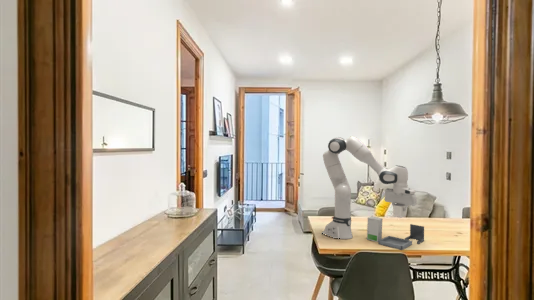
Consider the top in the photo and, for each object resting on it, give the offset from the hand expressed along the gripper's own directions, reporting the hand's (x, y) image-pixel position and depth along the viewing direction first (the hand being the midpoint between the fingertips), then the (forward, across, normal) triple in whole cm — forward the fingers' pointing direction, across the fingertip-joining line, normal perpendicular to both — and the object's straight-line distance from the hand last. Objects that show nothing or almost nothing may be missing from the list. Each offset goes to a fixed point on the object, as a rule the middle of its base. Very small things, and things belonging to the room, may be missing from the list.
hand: (399, 210), depth 202 cm
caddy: (+4, 0, 0) cm, 4 cm away
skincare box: (+23, -15, -5) cm, 28 cm away
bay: (+22, +5, +12) cm, 26 cm away
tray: (+22, -1, -4) cm, 23 cm away
